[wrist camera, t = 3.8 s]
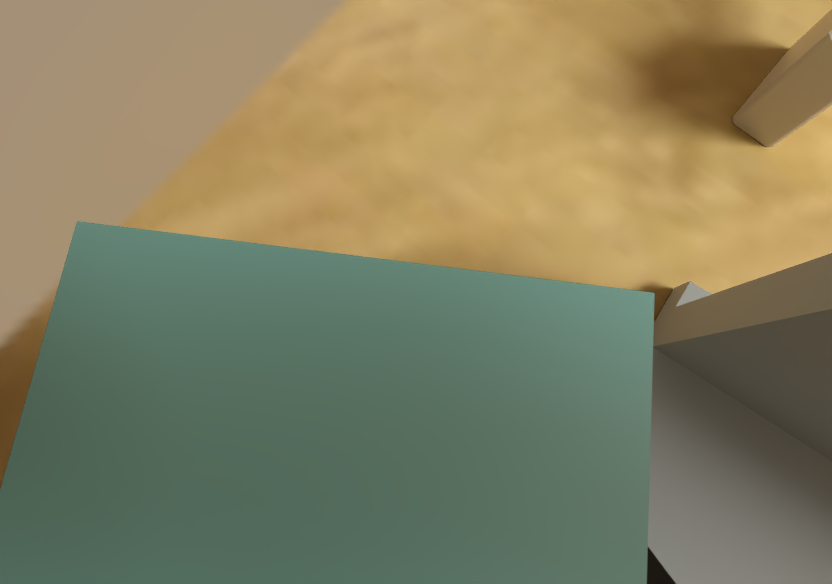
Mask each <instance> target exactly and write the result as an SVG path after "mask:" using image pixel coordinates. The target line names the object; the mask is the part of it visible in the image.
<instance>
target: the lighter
mask: <svg viewBox="0 0 832 584" xmlns="http://www.w3.org/2000/svg"><path fill="white" fill-rule="evenodd" d="M831 105H832V10H830V11H829V12H828V13H827V14H826V15H825V16H824V17H823V18H822V19H821V20H820V21H819V22H818V23H816V24H815V25H814V26H813V27H812V28H811V29H810V30H809V31H808V32H807V33H806V34H805V35H804V36H802V37H801V38H800V39H799V40H798V41H797V42H796V43H795V44H794V45H793V46H792V47H791V48H790V49H788V51H787V52H786V53H785V54H784V55H783V57H782V58H781V59H780V60H779V62H778V63H777V64H776V65H775V66H774V68H773V69H772V70H771V71H770V72H769V74H768V75H767V76H766V77H765V79H764V80H763V81H762V82H761V83H760V85H759V86H758V87H757V88H756V89H755V91H754V92H753V93H752V94H751V95H750V97H749V98H748V99H747V100H746V102H745V103H744V104H743V105H742V106H741V108H740V109H739V110H738V111H737V112H736V114H735V115H734V116H733V117H732V119H733V124H735V125H736V126H737V127H739V128H740V129H742V130H743V131H744V132H746V133H747V134H749V135H750V136H751V137H753V138H754V139H756V140H757V141H758V142H760V143H761V144H763V145H764V146H765V147H772V146H774V145H775V144H777V143H778V142H780V141H781V140H782V139H784V138H785V137H787V136H788V135H790V134H791V133H793V132H794V131H795V130H797V129H798V128H800V127H801V126H803V125H804V124H805V123H807V122H808V121H810V120H811V119H813V118H814V117H815V116H817V115H818V114H820V113H821V112H823V111H824V110H825V109H827V108H828V107H830V106H831Z"/></svg>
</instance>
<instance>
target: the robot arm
mask: <svg viewBox="0 0 832 584" xmlns="http://www.w3.org/2000/svg"><path fill="white" fill-rule="evenodd" d="M647 584H676V583H675V581H674V580H673V579H672V578H671V576H670V575H669V574H668V572H667V571H666V570H665V568H664V567H663V566H662V564H661V563H660V562H659V560H658V559H657V558H656V556H655V555H654V554H653V552H652V551H651V549H650V548H649V547H648V555H647Z"/></svg>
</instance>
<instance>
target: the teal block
mask: <svg viewBox="0 0 832 584" xmlns="http://www.w3.org/2000/svg"><path fill="white" fill-rule="evenodd" d="M654 296H655V293H652V292H644V291H636V290H628V289H620V288H612V287H604V286H596V285H588V284H580V283H572V282H563V281H555V280H547V279H539V278H531V277H523V276H515V275H507V274H499V273H491V272H483V271H475V270H467V269H459V268H450V267H442V266H434V265H426V264H418V263H410V262H402V261H394V260H386V259H378V258H370V257H362V256H354V255H346V254H337V253H329V252H321V251H313V250H305V249H297V248H289V247H281V246H273V245H265V244H257V243H249V242H241V241H233V240H224V239H216V238H208V237H200V236H192V235H184V234H176V233H168V232H160V231H152V230H144V229H136V228H128V227H120V226H111V225H103V224H95V223H87V222H79V221H78V222H77V223H76V227H75V230H74V234H73V237H72V241H71V244H70V248H69V251H68V255H67V258H66V262H65V265H64V269H63V272H62V275H61V279H60V282H59V286H58V289H57V293H56V296H55V300H54V303H53V307H52V310H51V314H50V317H49V321H48V324H47V328H46V331H45V335H44V338H43V342H42V345H41V349H40V352H39V356H38V359H37V363H36V366H35V370H34V373H33V377H32V380H31V384H30V387H29V391H28V394H27V397H26V401H25V404H24V408H23V411H22V415H21V418H20V422H19V425H18V429H17V432H16V436H15V439H14V443H13V446H12V450H11V453H10V457H9V460H8V464H7V467H6V471H5V474H4V478H3V481H2V485H1V488H0V584H647V555H648V518H649V481H650V444H651V407H652V370H653V333H654Z"/></svg>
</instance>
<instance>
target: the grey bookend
mask: <svg viewBox="0 0 832 584" xmlns="http://www.w3.org/2000/svg"><path fill="white" fill-rule="evenodd" d="M648 547H649V548H650V549H651V551H652V552H653V554H654V555H655V556H656V558H657V559H658V560H659V562H660V563H661V564H662V566H663V567H664V568H665V570H666V571H667V572H668V574H669V575H670V576H671V578H672V579H673V580H674V581H675V583H676V584H832V253H831V254H828V255H825V256H822V257H820V258H817V259H814V260H811V261H808V262H805V263H802V264H799V265H796V266H793V267H790V268H787V269H785V270H782V271H779V272H776V273H773V274H770V275H767V276H764V277H761V278H758V279H755V280H753V281H750V282H747V283H744V284H741V285H738V286H735V287H732V288H729V289H726V290H723V291H720V292H718V293H715V294H710V293H709V292H707V291H705V290H704V289H702V288H700V287H699V286H697V285H696V284H694V283H692V282H691V281H690V282H687V283H685V284H683V285H680V286H678V287H675V288H674V289H673V291H672V292H671V294H670V296H669V298H668V299H667V301H666V303H665V304H664V306H663V308H662V310H661V311H660V313H659V315H658V316H657V318H656V320H655V321H654V333H653V370H652V407H651V444H650V481H649V518H648Z"/></svg>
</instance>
